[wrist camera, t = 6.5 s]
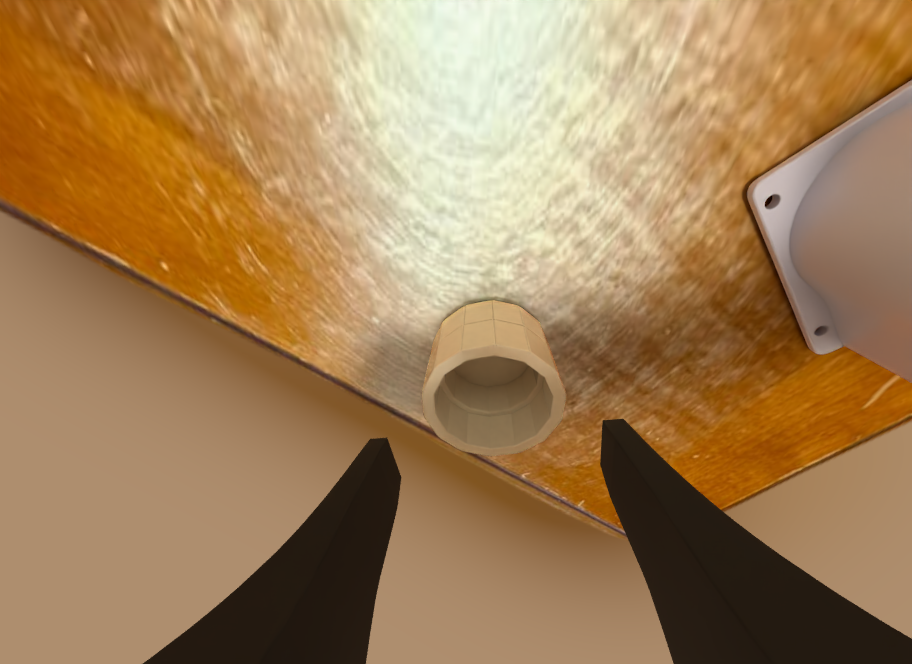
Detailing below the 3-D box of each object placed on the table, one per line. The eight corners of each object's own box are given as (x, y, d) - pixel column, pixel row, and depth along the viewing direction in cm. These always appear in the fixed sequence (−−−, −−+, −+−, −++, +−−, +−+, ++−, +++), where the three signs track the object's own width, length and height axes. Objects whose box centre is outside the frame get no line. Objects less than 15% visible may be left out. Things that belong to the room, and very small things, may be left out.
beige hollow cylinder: (567, 355, 17) (593, 417, 13) (478, 406, 19) (478, 473, 15) (503, 272, 15) (511, 316, 11) (411, 339, 17) (392, 395, 13)
